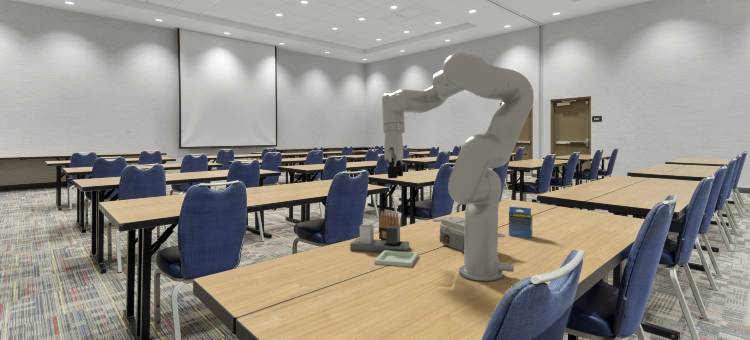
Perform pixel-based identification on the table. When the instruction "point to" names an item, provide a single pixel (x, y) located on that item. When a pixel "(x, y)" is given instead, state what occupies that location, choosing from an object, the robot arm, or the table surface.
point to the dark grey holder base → (383, 242)
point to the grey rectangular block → (366, 233)
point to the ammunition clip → (387, 223)
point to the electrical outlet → (453, 232)
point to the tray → (396, 258)
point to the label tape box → (520, 222)
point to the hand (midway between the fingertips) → (395, 177)
